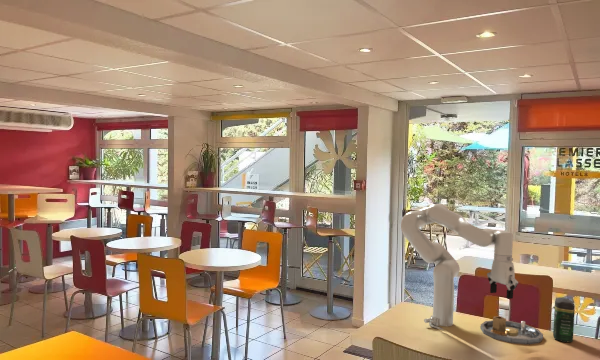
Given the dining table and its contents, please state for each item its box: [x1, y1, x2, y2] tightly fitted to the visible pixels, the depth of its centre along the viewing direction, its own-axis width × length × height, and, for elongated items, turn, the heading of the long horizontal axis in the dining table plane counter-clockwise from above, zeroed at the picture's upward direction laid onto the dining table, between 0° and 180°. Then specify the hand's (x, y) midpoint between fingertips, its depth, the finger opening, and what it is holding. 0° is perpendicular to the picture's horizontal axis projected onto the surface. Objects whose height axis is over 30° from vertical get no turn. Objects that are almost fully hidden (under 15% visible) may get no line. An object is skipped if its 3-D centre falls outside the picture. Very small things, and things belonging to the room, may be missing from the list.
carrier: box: [480, 319, 544, 345], centre depth 214 cm, size 25×25×6 cm
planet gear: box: [491, 315, 507, 336], centre depth 211 cm, size 7×7×8 cm
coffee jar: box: [552, 297, 576, 343], centre depth 213 cm, size 10×8×19 cm
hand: (501, 295), depth 211 cm, fingers open, 9 cm apart
